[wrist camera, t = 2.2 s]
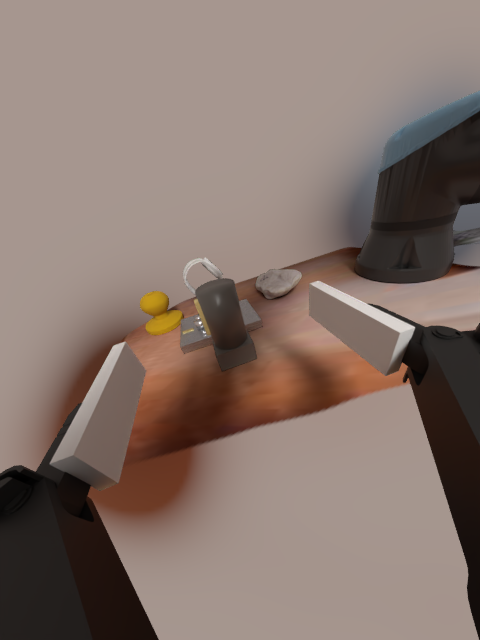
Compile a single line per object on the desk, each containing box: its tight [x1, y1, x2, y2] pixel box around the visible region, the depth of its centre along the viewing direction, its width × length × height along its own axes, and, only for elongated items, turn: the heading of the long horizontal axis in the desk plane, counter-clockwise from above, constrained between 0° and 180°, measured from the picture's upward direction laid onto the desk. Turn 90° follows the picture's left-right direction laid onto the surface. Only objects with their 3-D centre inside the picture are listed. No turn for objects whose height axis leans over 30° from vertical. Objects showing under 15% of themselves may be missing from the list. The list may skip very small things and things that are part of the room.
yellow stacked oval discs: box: [140, 291, 184, 335], centre depth 38 cm, size 8×8×8 cm
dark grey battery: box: [194, 279, 257, 371], centre depth 25 cm, size 5×5×11 cm
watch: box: [183, 258, 223, 295], centre depth 39 cm, size 6×8×11 cm
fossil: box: [255, 269, 302, 299], centre depth 40 cm, size 9×6×10 cm
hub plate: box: [180, 299, 263, 354], centre depth 34 cm, size 14×9×4 cm, turn 105°
